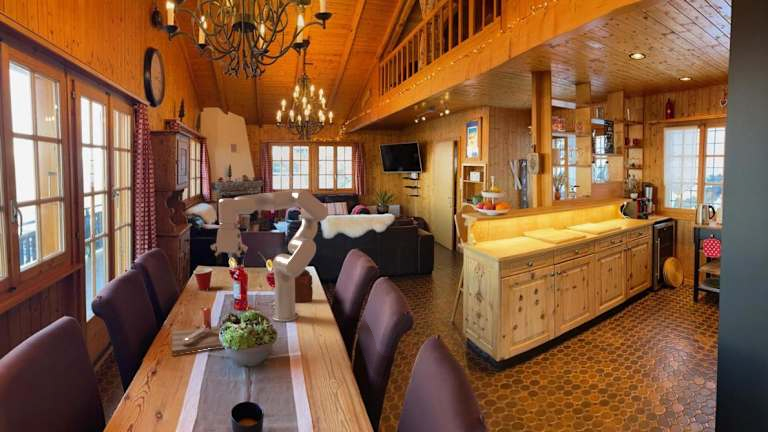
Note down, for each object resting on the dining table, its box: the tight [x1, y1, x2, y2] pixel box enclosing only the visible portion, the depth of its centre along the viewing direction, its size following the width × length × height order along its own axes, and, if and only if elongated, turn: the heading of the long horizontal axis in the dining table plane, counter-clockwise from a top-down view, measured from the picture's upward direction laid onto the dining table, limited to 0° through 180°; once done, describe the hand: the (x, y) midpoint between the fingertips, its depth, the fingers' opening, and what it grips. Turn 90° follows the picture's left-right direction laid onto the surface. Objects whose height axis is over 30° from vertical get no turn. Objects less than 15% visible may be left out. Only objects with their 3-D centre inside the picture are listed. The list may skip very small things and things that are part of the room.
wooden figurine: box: [294, 268, 314, 303], centre depth 247 cm, size 12×6×18 cm, turn 105°
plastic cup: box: [193, 267, 214, 291], centre depth 270 cm, size 11×11×12 cm
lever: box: [183, 307, 212, 346], centre depth 188 cm, size 18×4×10 cm, turn 170°
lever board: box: [171, 325, 222, 356], centre depth 190 cm, size 22×19×2 cm
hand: (229, 264), depth 200 cm, fingers open, 9 cm apart
